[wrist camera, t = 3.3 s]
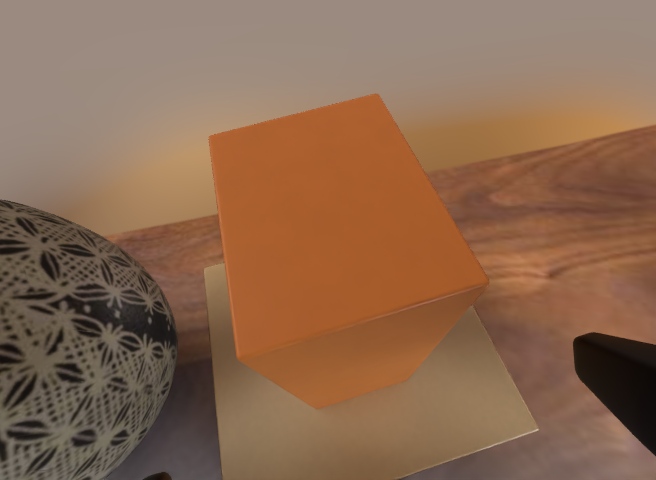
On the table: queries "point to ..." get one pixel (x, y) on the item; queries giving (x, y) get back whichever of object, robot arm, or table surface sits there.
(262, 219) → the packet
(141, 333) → the decorative egg
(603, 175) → the table surface
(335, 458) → the beige slab
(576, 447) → the table surface
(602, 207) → the table surface
